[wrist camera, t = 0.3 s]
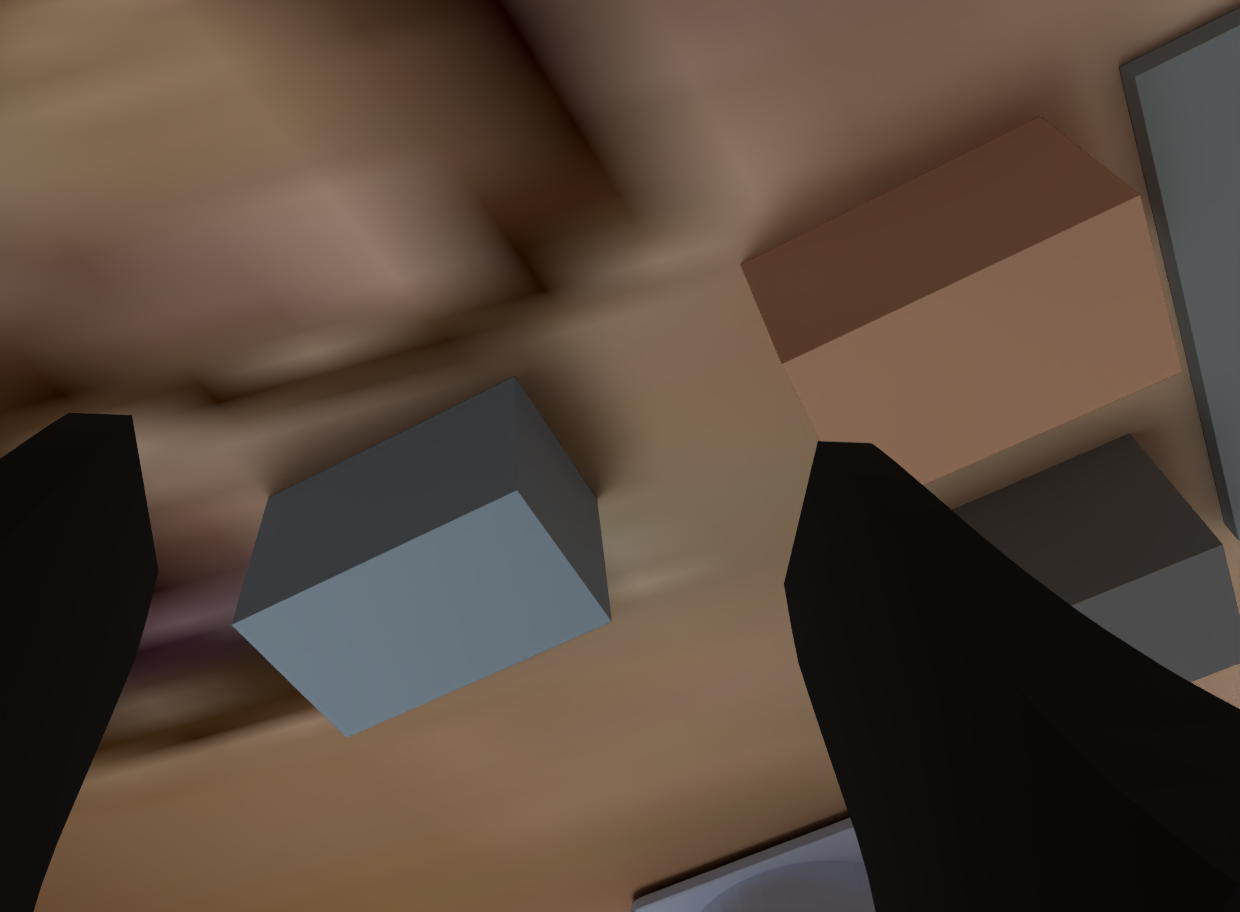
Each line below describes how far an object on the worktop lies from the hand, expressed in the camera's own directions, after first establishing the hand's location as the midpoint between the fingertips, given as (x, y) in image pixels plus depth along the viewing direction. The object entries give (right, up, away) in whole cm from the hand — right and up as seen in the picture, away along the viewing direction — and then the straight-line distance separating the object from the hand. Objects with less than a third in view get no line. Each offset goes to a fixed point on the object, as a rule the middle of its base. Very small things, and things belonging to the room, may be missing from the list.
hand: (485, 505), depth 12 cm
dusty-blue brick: (-3, 0, +12) cm, 12 cm away
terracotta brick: (+7, +4, +10) cm, 13 cm away
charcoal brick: (+11, -1, +14) cm, 18 cm away
